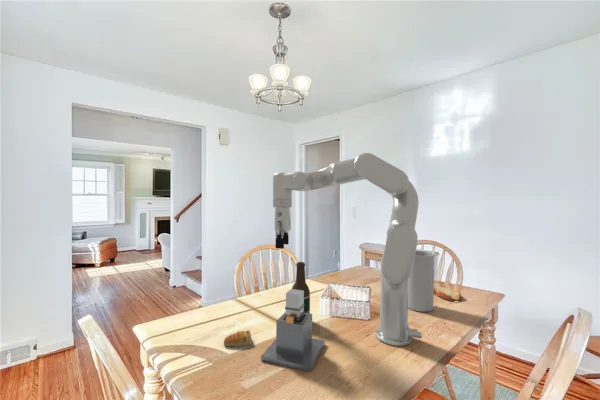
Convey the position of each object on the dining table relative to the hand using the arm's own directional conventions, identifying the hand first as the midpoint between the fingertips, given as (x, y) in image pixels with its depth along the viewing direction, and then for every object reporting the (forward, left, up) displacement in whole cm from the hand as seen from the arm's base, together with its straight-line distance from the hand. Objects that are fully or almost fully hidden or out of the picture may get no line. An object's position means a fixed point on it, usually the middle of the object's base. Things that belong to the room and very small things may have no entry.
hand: (282, 246), depth 114 cm
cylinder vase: (-53, -37, -31) cm, 72 cm away
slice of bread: (-66, -60, -31) cm, 95 cm away
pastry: (+7, +20, -31) cm, 38 cm away
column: (-13, +19, -29) cm, 37 cm away
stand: (-13, +19, -31) cm, 38 cm away
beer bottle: (-7, -3, -31) cm, 32 cm away
